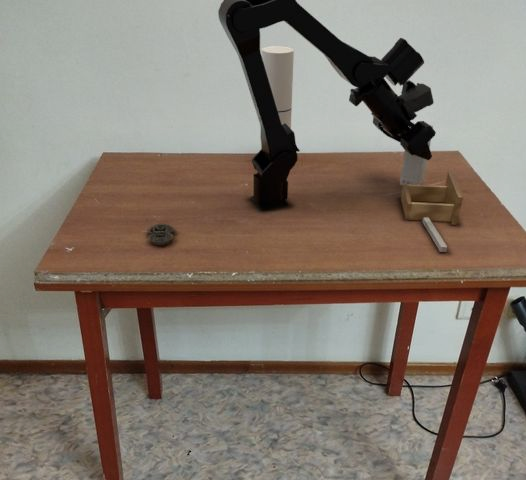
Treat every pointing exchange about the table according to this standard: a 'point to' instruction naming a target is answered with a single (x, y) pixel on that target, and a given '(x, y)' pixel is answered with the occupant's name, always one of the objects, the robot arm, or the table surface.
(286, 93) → the cylindrical container
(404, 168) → the cosmetic box
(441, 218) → the wooden tray frame
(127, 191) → the table surface
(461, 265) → the table surface
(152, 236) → the corroded twin loop
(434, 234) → the ruler
